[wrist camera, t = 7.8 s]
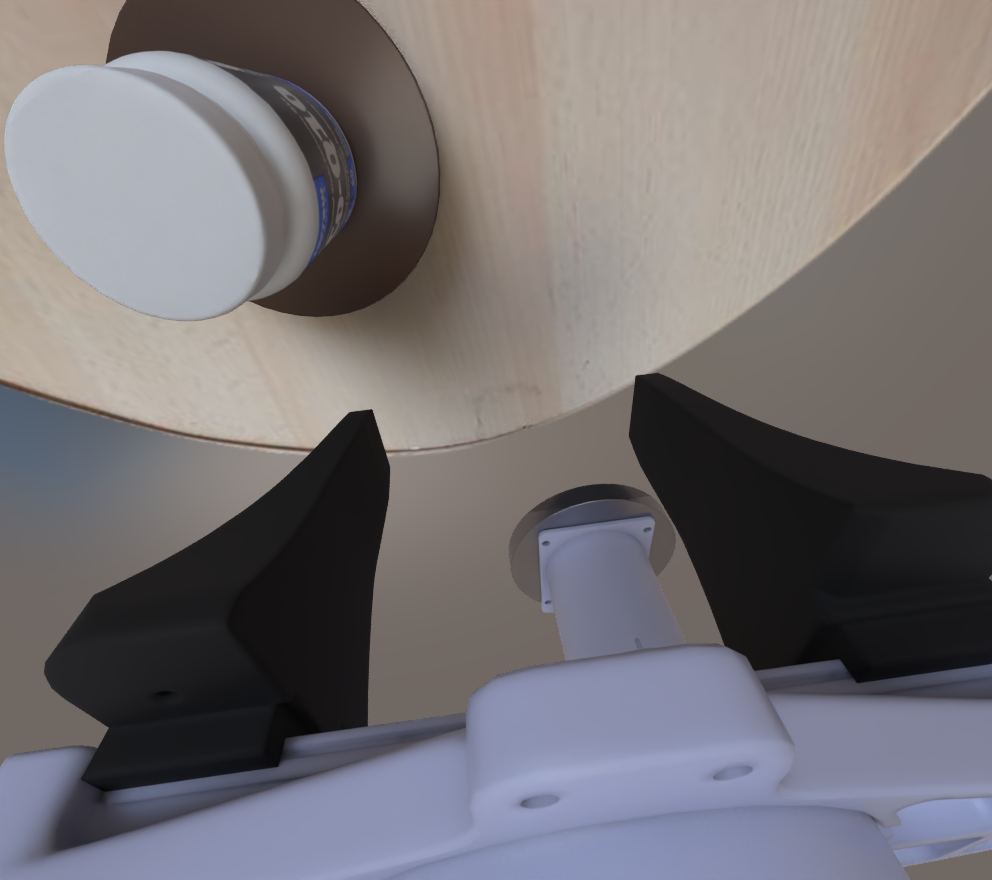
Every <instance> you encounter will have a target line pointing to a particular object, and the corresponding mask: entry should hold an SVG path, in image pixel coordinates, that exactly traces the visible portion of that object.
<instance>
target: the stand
mask: <svg viewBox="0 0 992 880" xmlns="http://www.w3.org/2000/svg"><path fill="white" fill-rule="evenodd" d="M147 51H170V52H177V53H184V54H190V55H194V56H196V57H199V58H202V59H206V60H210V61H214V62H219V63H223V64H226V65H229V66H233V67H237V68H242V69H246V70H250V71H255V72H258V73H262V74H267V75H271V76H275V77H278V78H281V79H283V80H286V81H288V82H291V83H293V84H294V85H296V86H298V87H300V88H301V89H303V90H304V91H306V92H307V93H309V94H310V95H312V96H313V97H314V98H315V99H316V100H318V101H319V102H320V103H321V104H322V105H323V106H324V107H325V108H326V109H327V110H328V111H329V112H330V114H331V115H332V116H333V118H334V119H335V120H336V122H337V123H338V125H339V126H340V128H341V130H342V132H343V133H344V135H345V137H346V140H347V142H348V144H349V146H350V150H351V153H352V156H353V160H354V164H355V170H356V178H357V190H356V199H355V203H354V207H353V210H352V212H351V215H350V217H349V219H348V221H347V222H346V224H345V225H344V227H343V228H342V230H341V231H340V232H339V233H338V235H337V236H336V237H335V238H333V239H332V240H331V241H330V242H329V243H328V245H327V246H326V247H325V248H324V249H323V250H322V251H321V253H320V254H319V255H317V257H316V258H315V259H314V260H313V261H312V262H311V263H310V264H309V266H308V267H307V268H306V269H305V270H304V271H303V273H302V274H301V275H300V276H299V277H298V278H297V279H296V280H295V281H294V282H292V283H291V284H290V285H289V286H287V287H286V288H284V289H282V290H280V291H278V292H276V293H274V294H272V295H270V296H267V297H264V298H261V299H257V300H251V301H250V302H253V303H255V304H257V305H260V306H262V307H265V308H268V309H272V310H275V311H279V312H282V313H288V314H293V315H299V316H313V317H322V316H335V315H341V314H346V313H351V312H354V311H357V310H360V309H363V308H366V307H368V306H370V305H372V304H374V303H376V302H378V301H380V300H381V299H382V298H384V297H385V296H387V295H388V294H390V293H391V292H393V291H394V290H395V289H396V288H397V287H398V286H399V285H400V284H401V283H402V282H403V281H404V280H405V279H406V278H407V277H408V275H409V274H410V273H411V272H412V270H413V269H414V268H415V267H416V265H417V263H418V262H419V260H420V258H421V257H422V255H423V253H424V251H425V249H426V247H427V244H428V242H429V239H430V237H431V234H432V231H433V227H434V224H435V220H436V216H437V209H438V203H439V195H440V165H439V153H438V146H437V141H436V136H435V131H434V126H433V123H432V120H431V117H430V113H429V110H428V107H427V104H426V101H425V99H424V97H423V94H422V92H421V90H420V87H419V85H418V83H417V80H416V78H415V77H414V75H413V73H412V71H411V69H410V68H409V66H408V64H407V62H406V60H405V59H404V57H403V55H402V54H401V52H400V51H399V50H398V48H397V47H396V45H395V44H394V43H393V41H392V40H391V38H390V37H389V36H388V34H387V33H386V31H385V30H384V29H383V28H382V27H381V25H380V24H379V23H378V22H377V21H376V20H375V19H374V18H373V16H372V15H371V14H370V13H369V12H368V11H367V10H366V9H365V8H364V7H363V6H362V5H361V4H360V3H359V2H358V1H357V0H126V2H125V4H124V5H123V7H122V9H121V11H120V12H119V15H118V18H117V20H116V23H115V26H114V29H113V31H112V34H111V38H110V43H109V49H108V54H107V59H106V64H107V63H109V62H111V61H113V60H115V59H118V58H120V57H122V56H125V55H129V54H133V53H139V52H147Z"/></svg>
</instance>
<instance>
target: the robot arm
mask: <svg viewBox="0 0 992 880" xmlns="http://www.w3.org/2000/svg"><path fill="white" fill-rule="evenodd" d="M629 438H630V440H631V443H632V446H633V449H634V451H635V454H636V456H637V459H638V461H639V464H640V466H641V468H642V470H643V471H644V473H645V475H646V477H647V478H648V480H649V482H650V484H651V485H652V487H653V489H654V491H655V492H656V494H657V496H658V497H659V499H660V501H661V503H662V504H663V506H664V508H665V510H666V511H667V513H668V515H669V517H670V518H671V520H672V522H673V523H674V525H675V527H676V529H677V531H678V533H679V534H680V537H681V538H682V540H683V542H684V545H685V547H686V549H687V552H688V554H689V556H690V559H691V561H692V563H693V566H694V568H695V570H696V573H697V575H698V578H699V580H700V582H701V585H702V587H703V590H704V592H705V595H706V597H707V600H708V602H709V605H710V607H711V610H712V613H713V616H714V618H715V621H716V624H717V626H718V629H719V632H720V634H721V637H722V640H723V643H724V645H725V646H723V645H720V644H687V643H686V641H685V638H684V636H683V634H682V632H681V630H680V628H679V625H678V623H677V621H676V619H675V617H674V615H673V612H672V610H671V608H670V606H669V604H668V601H667V599H666V597H665V595H664V593H663V590H662V588H661V586H660V584H659V582H658V580H657V577H656V575H655V573H654V571H653V568H652V566H651V564H650V562H649V560H648V559H649V554H650V548H651V543H652V537H653V532H654V527H655V521H654V519H653V518H652V517H650V516H645V517H638V518H630V519H623V520H615V521H608V522H601V523H593V524H586V525H578V526H571V527H563V528H556V529H549V530H543V531H541V532H540V533H539V534H538V547H539V567H540V587H541V606H542V611H543V612H545V613H552V612H555V616H556V620H557V625H558V629H559V633H560V638H561V642H562V647H563V652H564V656H565V661H561V662H554V663H547V664H540V665H533V666H528V667H524V668H520V669H517V670H513V671H509V672H506V673H502V674H498V675H497V676H495V677H494V678H492V679H491V680H489V681H488V682H486V683H485V684H483V685H482V686H480V687H479V688H477V689H476V690H475V691H474V692H473V693H472V695H471V696H470V699H469V703H468V706H467V710H466V712H465V713H458V714H451V715H444V716H437V717H430V718H423V719H416V720H409V721H402V722H395V723H388V724H381V725H374V726H368V679H369V678H368V677H369V651H370V632H371V615H372V614H371V613H372V600H373V587H374V578H375V571H376V565H377V559H378V554H379V549H380V544H381V539H382V533H383V528H384V523H385V517H386V511H387V506H388V500H389V487H390V485H389V484H390V465H389V462H388V459H387V455H386V452H385V449H384V446H383V443H382V439H381V436H380V433H379V430H378V426H377V423H376V420H375V417H374V413H373V410H372V409H370V410H363V411H355V412H349V413H348V414H347V415H346V416H345V417H344V418H343V419H342V420H341V421H340V422H339V423H338V424H337V425H336V427H335V428H334V429H333V430H332V431H331V432H330V433H329V434H328V435H327V436H326V437H325V438H324V439H323V440H322V441H321V443H320V444H319V445H318V446H317V447H316V448H315V449H314V450H313V451H312V452H311V453H310V454H309V455H308V456H307V457H306V458H305V459H304V460H303V461H302V462H301V463H300V464H299V465H298V466H296V467H295V468H294V469H293V470H292V471H291V472H290V473H289V474H288V475H287V476H286V477H285V478H284V479H283V480H281V481H280V482H279V483H278V484H277V485H276V486H275V487H273V488H272V489H271V490H270V491H269V492H267V493H266V494H265V495H263V496H262V497H261V498H260V499H258V500H257V501H256V502H254V503H253V504H252V505H251V506H249V507H248V508H247V509H245V510H244V511H242V512H241V513H239V514H238V515H236V516H235V517H234V518H232V519H231V520H229V521H228V522H226V523H225V524H223V525H222V526H220V527H219V528H217V529H216V530H214V531H213V532H211V533H210V534H208V535H207V536H205V537H203V538H202V539H200V540H198V541H197V542H195V543H193V544H192V545H190V546H188V547H187V548H185V549H183V550H181V551H180V552H178V553H176V554H174V555H172V556H171V557H169V558H167V559H165V560H163V561H162V562H160V563H158V564H156V565H154V566H152V567H150V568H148V569H146V570H144V571H142V572H140V573H138V574H136V575H134V576H132V577H130V578H128V579H126V580H124V581H122V582H120V583H118V584H116V585H114V586H112V587H110V588H108V589H106V590H103V591H101V592H99V593H97V594H95V595H94V596H93V597H92V598H91V600H90V601H89V603H88V604H87V605H86V607H85V608H84V610H83V611H82V612H81V614H80V615H79V616H78V618H77V619H76V620H75V622H74V623H73V625H72V626H71V627H70V629H69V630H68V631H67V633H66V634H65V636H64V637H63V638H62V640H61V641H60V643H59V644H58V645H57V647H56V648H55V650H54V651H53V652H52V654H51V655H50V657H49V658H48V659H47V661H46V662H45V669H44V674H45V676H46V678H47V680H48V682H49V684H50V686H51V688H52V689H53V690H55V691H56V692H57V693H58V694H59V695H60V696H62V697H63V698H64V699H66V700H67V701H69V702H70V703H72V704H73V705H75V706H76V707H78V708H79V709H81V710H83V711H84V712H86V713H87V714H89V715H90V716H92V717H93V718H95V719H96V720H98V721H100V722H101V723H103V724H104V725H106V726H107V727H109V729H108V731H107V733H106V735H105V736H104V738H103V740H102V742H101V744H100V745H99V747H98V748H95V747H90V746H83V745H81V746H66V747H59V748H52V749H45V750H38V751H31V752H24V753H17V754H14V755H11V756H9V757H7V758H6V759H5V761H4V762H3V764H2V765H1V767H0V880H910V878H909V877H908V875H907V873H906V872H905V870H904V868H903V867H906V866H911V865H916V864H921V863H926V862H931V861H936V860H941V859H946V858H951V857H957V856H962V855H967V854H972V853H977V852H981V851H987V850H992V581H991V580H990V579H989V577H990V576H991V575H992V480H991V479H990V478H988V477H986V476H984V475H981V474H974V473H968V472H961V471H955V470H949V469H942V468H936V467H930V466H923V465H917V464H911V463H906V462H901V461H896V460H891V459H887V458H882V457H877V456H872V455H868V454H864V453H860V452H856V451H852V450H848V449H844V448H840V447H836V446H833V445H829V444H826V443H822V442H818V441H815V440H812V439H809V438H806V437H802V436H799V435H796V434H793V433H791V432H788V431H785V430H782V429H779V428H777V427H774V426H771V425H769V424H766V423H763V422H761V421H759V420H756V419H754V418H752V417H749V416H747V415H745V414H742V413H740V412H738V411H736V410H733V409H731V408H729V407H727V406H725V405H723V404H720V403H719V402H716V401H714V400H713V399H711V398H708V397H706V396H705V395H702V394H701V393H699V392H697V391H695V390H692V389H691V388H689V387H687V386H685V385H683V384H681V383H679V382H677V381H675V380H673V379H671V378H669V377H666V376H664V375H662V374H659V373H653V374H645V375H637V376H636V377H635V386H634V395H633V404H632V412H631V421H630V430H629ZM545 541H546V542H545Z"/></svg>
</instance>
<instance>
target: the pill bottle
mask: <svg viewBox="0 0 992 880" xmlns="http://www.w3.org/2000/svg"><path fill="white" fill-rule="evenodd" d="M4 148H5V158H6V165H7V169H8V173H9V177H10V180H11V183H12V186H13V189H14V191H15V194H16V196H17V198H18V200H19V202H20V204H21V207H22V208H23V210H24V212H25V214H26V216H27V217H28V219H29V221H30V222H31V224H32V226H33V227H34V229H35V230H36V232H37V233H38V234H39V236H40V237H41V238H42V240H43V241H44V242H45V243H46V245H47V246H48V247H49V248H50V250H51V251H52V252H53V253H54V254H55V255H56V256H57V257H58V258H59V259H60V261H61V262H62V263H64V264H65V265H66V266H67V267H68V268H69V269H70V270H71V271H72V272H73V273H75V274H76V275H77V276H78V277H79V278H81V279H82V280H83V281H85V282H86V283H87V284H89V285H90V286H91V287H93V288H94V289H95V290H97V291H98V292H100V293H102V294H103V295H105V296H107V297H109V298H110V299H112V300H114V301H116V302H117V303H119V304H121V305H124V306H126V307H128V308H130V309H133V310H135V311H138V312H140V313H143V314H146V315H150V316H154V317H158V318H163V319H168V320H175V321H199V320H206V319H211V318H215V317H218V316H221V315H224V314H227V313H229V312H231V311H233V310H234V309H236V308H237V307H239V306H240V305H242V304H243V303H244V302H246V301H251V300H257V299H261V298H264V297H267V296H270V295H272V294H274V293H276V292H278V291H280V290H282V289H284V288H286V287H287V286H289V285H290V284H291V283H292V282H294V281H295V280H296V279H297V278H298V277H299V276H300V275H301V274H302V273H303V271H304V270H305V269H306V268H307V267H308V266H309V264H310V263H311V262H312V261H313V260H314V259H315V258H316V257H317V255H319V254H320V253H321V251H322V250H323V249H324V248H325V247H326V246H327V245H328V243H329V242H330V241H331V240H332V239H333V238H335V237H336V236H337V235H338V233H339V232H340V231H341V230H342V228H343V227H344V225H345V224H346V222H347V221H348V219H349V217H350V215H351V212H352V210H353V207H354V203H355V199H356V190H357V178H356V170H355V164H354V160H353V156H352V153H351V150H350V146H349V144H348V142H347V140H346V137H345V135H344V133H343V132H342V130H341V128H340V126H339V125H338V123H337V122H336V120H335V119H334V118H333V116H332V115H331V114H330V112H329V111H328V110H327V109H326V108H325V107H324V106H323V105H322V104H321V103H320V102H319V101H318V100H316V99H315V98H314V97H313V96H312V95H310V94H309V93H307V92H306V91H304V90H303V89H301V88H300V87H298V86H296V85H294V84H293V83H291V82H288V81H286V80H283V79H281V78H278V77H275V76H271V75H267V74H262V73H258V72H255V71H250V70H246V69H242V68H237V67H233V66H229V65H226V64H223V63H219V62H214V61H210V60H206V59H202V58H199V57H196V56H194V55H190V54H184V53H177V52H170V51H147V52H139V53H133V54H129V55H125V56H122V57H120V58H118V59H115V60H113V61H111V62H109V63H107V64H106V65H104V66H99V65H74V66H67V67H62V68H59V69H56V70H53V71H50V72H48V73H46V74H44V75H41V76H39V77H38V78H36V79H35V80H33V81H32V82H31V83H30V84H29V85H28V86H27V87H26V88H25V89H24V90H23V91H22V92H21V93H20V94H19V96H18V97H17V99H16V100H15V102H14V104H13V106H12V108H11V110H10V113H9V115H8V119H7V122H6V127H5V138H4Z"/></svg>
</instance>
